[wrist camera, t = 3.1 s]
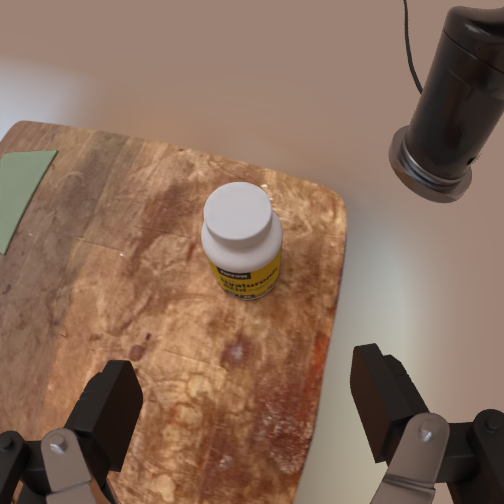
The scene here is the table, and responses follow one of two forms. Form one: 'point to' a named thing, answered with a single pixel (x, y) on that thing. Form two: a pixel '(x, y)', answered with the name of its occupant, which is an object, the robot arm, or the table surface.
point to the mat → (19, 188)
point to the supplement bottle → (242, 240)
